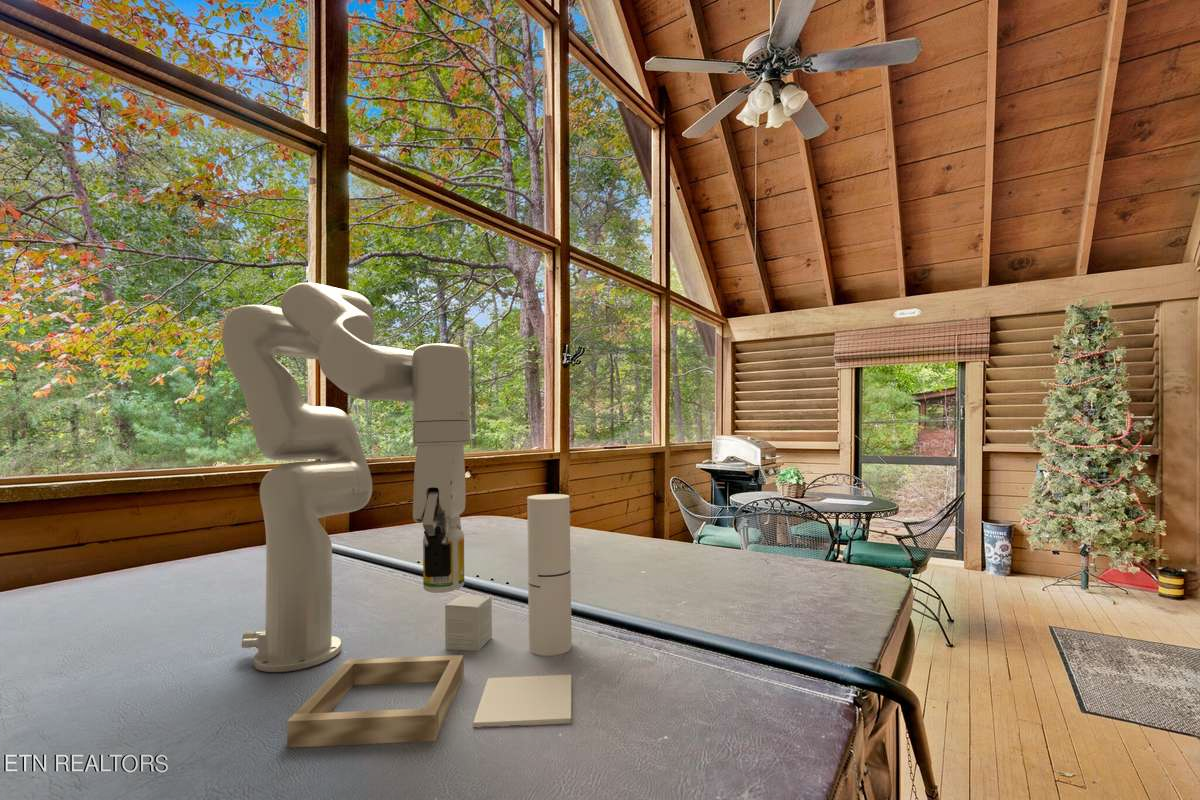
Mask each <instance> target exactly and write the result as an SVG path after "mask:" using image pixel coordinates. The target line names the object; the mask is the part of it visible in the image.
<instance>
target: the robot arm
mask: <svg viewBox="0 0 1200 800" xmlns="http://www.w3.org/2000/svg"><path fill="white" fill-rule="evenodd" d="M374 324H375V310H374V307H373V305H372V304H371V302H370V301H369V300H368V298H366V297H365V296H364V295H362V294H360V293H358V292H356V291H352V290H347V289H343V288H338V287H334V286H330V285H326V284H321V283H316V282H299V283H296V284H294V285H292V286H290V287H289V288H287V289H286V291H285V292H284V293H283V294H282V296H281V299H280V307H277V306H271V305H263V304H246V305H242V306H238V307H235V308H233V309H232V310H231V311H230V312H229V313H228V314H227V316H226V317H225V320H224V322H223V327H222V335H221V336H222V339H221V341H222V350H223V353H224V357H225V360H226V362H227V366H228V367H229V369H230V371H231V373H232V375H233V377H234V378H235V380H236V382H237V384H238V385H239V387H240V389H241V392H242V395H243V397H244V402H245V406H246V409H247V413H248V416H249V420H250V423H251V426H252V430H253V435H254V439H255V442H256V444H257V445H256V446H258V447H257V448H258V449H259V451H260V453H261V454H262V455H263V456H264V457H265V458H266V459H269V460H272V461H278V462H279V461H282V462H283V461H286V462H288V461H295V462H288V463H285V464H281V465H277V466H276V467H274V468H272V469H271V470H269V471H268V472H267V473H265V475H264V477H263V478H262V480H261V482H260V486H259V497H260V498H259V499H260V500H259V501H260V505H261V510H262V515H263V521H264V528H265V545H266V548H265V549H266V550H265V554H266V555H265V562H266V563H265V564H266V566H265V567H266V568H265V570H266V571H265V574H266V575H265V628H264V630H263V631H258V630H248V631H247V630H246V631H244V633H243V635H242V638H241V640H242V641H241V648H242V649H250V648H256V649H257V652H256V653H255V655H254V657H253V667H254V668H255V669H256V670H258V671H260V672H261V671H262V672H266V673H284V672H286V673H287V672H294V671H298V670H303V669H308V668H311V667H314V666H317V665H320V664H323V663H325V662H327V661H330V660H331V659H333V658H334V657H336V656H337V655H338V654H340V652H341V651H342V648H343V647H342V645H343V644H342V640H341V639H340V638H339V637H337V636H335V635H332V633H333V632H332V619H333V617H332V616H333V614H332V613H333V612H332V611H333V610H332V607H333V606H332V605H333V603H332V602H333V601H332V600H333V599H332V598H333V595H332V594H333V591H332V590H333V545H332V540H331V537H330V535H329V534H328V533H327V531H326V530H325V528H324V527H323V525H322V524H321V522H320V521H319V519H320V518H324V517H328V516H330V517H331V516H334V515H341V514H347V513H353V512H357V511H359V510H361V509H363V508H365V506H367V505H368V503H369V502H370V501H371V500H370V499H371V497H372V493H373V479H372V475H371V470H370V468H369V465H368V461H367V458H366V455H365V452H364V449H363V446H362V443H361V440H360V437H359V434H358V430H357V428H356V425H355V423H354V421H353V420H352V418H351V417H350V416H349V415H348V413H346V412H345V411H344V410H342V409H340V408H337V407H333V406H319V405H318V406H317V405H316V406H315V405H314V406H313V405H310V404H307V403H306V402H305V400H304V399H303V396H302V395H303V394H302V392H301V390H300V385H299V383H298V381H297V380H296V378H295V376H294V375H293V374H292V373H291V372H290V371H289V370H288V369H287V367H286V366H285V365H283V364H282V363H281V362H279V361H278V360H277V359H276V358H275V356H279V357H287V358H296V359H297V358H298V359H308V360H318V363H319V367H320V369H321V372H322V374H323V375H324V376H325V377H326V378H327V379H328V380H329V381H330V382H331V383H333V384H334V385H335V386H336V387H338V389H340V390H341V391H343V392H344V393H346V394H347V395H349V396H351V397H352V398H353V397H354V398H356V399H359V400H363V401H381V402H383V401H385V402H387V401H388V402H399V403H400V402H401V403H402V402H403V403H404V402H405V403H412V443H413V444H412V446H413V448H414V447H415V448H416V451H415V460H414V473H413V495H412V496H413V497H412V500H413V501H412V519H413V521H414V522H415V523H417V524H421V523H422V526H423V529H424V531H423V534H424V535H425V538H424V545H425V576H426V577H445V576H449V575H450V574H451V544H448V533H449V521H451V520H452V519H454V518H455V517H457V516H458V515H459V525H458V526H457V529H460V530H461V531H462V524H461V515H462V513H463V512H465V509H466V496H467V495H466V494H467V492H466V491H467V489H466V468H465V467H466V463H465V451H464V446H470V445H471V405H470V404H471V402H470V400H471V399H470V357H469V354H468V351H467V349H465V348H464V347H463V346H460V345H459V344H458V345H457V344H451V343H427V344H426V343H425V344H422V345H419V346H418V347H416V348H415V349H414V350H409V349H406V348H405V349H404V348H395V347H389V346H382V345H372V344H373V342H374V338H375V334H376V333H375V326H374ZM301 460H302V461H301ZM303 460H312V461H303ZM436 517H443V518H444V520H436ZM440 526H443V529H442V531H441V528H440Z"/></svg>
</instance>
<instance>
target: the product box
mask: <svg viewBox="0 0 1200 800" xmlns="http://www.w3.org/2000/svg"><path fill="white" fill-rule="evenodd" d="M492 601H493V600H492V595H477V594H474V595H471V594H460V595H459V596H457V597H455V598H454V599H453V600H451V601H449V602H448V603H447V604H444V605H445V607H444V608H445V609H444V610H445V611H444V613H445V615H444V618H445V622H444V623H445V624H444V625H445V629H444V630H445V631H444V635H445V637H444V638H445V639H444V647H445V650H454V651H469V652H479V651H480V650H481V649H482V648H483V646H485V645H486V643H487V642H489V641H490V640H491V639H492V637H493V622H492V621H493V617H492V615H493V614H492V613H493V611H492V610H493V609H492Z"/></svg>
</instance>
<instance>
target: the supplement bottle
mask: <svg viewBox="0 0 1200 800" xmlns="http://www.w3.org/2000/svg"><path fill="white" fill-rule="evenodd" d="M436 520H444V518H443V517H436ZM458 525H459V515H458V516H457V517H455V518H454V519H452V520H451V521H449V533H448V544H451V574H450V575H449V576H445V577H426V576H425V545H424V538H425V534H424V535H423V537H422V552H423V553H422V560H423V561H422V565H423V568H422V569H423V571H422V573H423V576H422V582H423V583H422V584H423V590H424V591H425V592H428V593H431V594H432V593H435V594H437V593H439V594H441V593H451V592H455V591H458V590H459V589H461V588H462V587H464V584H465V534H464V532H463V531H462V529H461V530H460V529H457V526H458ZM440 528H441V531H442V529H443V526H440Z"/></svg>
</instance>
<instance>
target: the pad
mask: <svg viewBox="0 0 1200 800" xmlns="http://www.w3.org/2000/svg"><path fill="white" fill-rule="evenodd" d="M560 724H561V725H562V724H565V725H566V724H572V674H557V675H556V674H555V675H554V674H552V675H533V676H532V675H531V676H527V675H526V676H508V677H507V676H506V677H505V676H504V677H488V678H487V680H486V683H485V687H484V689H483V693H482V696H481V698H480V702H479V705H478V708H477V711H476V714H475V717H474V720H473V722H472V725H473V726H472V728H473V727H477V728H479V727H478V726H499V727H503V726H502V725H521V726H536V725H537V726H538V725H539V726H540V725H560Z"/></svg>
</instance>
